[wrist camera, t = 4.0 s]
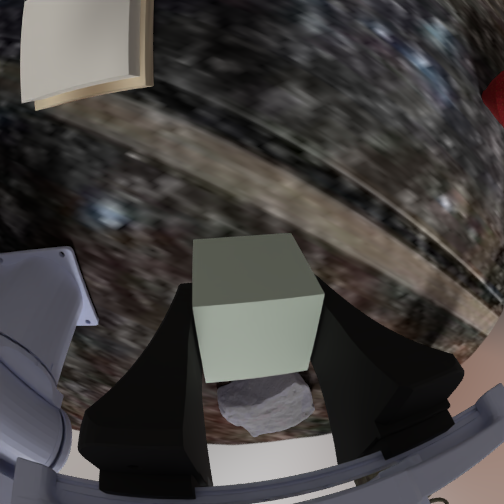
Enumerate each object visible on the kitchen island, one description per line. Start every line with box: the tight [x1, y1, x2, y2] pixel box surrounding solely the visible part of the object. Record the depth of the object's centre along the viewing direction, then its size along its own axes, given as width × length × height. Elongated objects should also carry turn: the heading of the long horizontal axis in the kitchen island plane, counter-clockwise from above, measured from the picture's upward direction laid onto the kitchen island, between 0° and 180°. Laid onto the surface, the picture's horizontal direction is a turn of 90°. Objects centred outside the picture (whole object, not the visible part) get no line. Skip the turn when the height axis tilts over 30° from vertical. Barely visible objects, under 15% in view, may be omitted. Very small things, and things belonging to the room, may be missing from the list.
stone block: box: [217, 372, 315, 437], centre depth 33 cm, size 12×5×10 cm
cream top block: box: [20, 0, 141, 103], centre depth 9 cm, size 6×6×2 cm
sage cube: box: [192, 233, 325, 383], centre depth 11 cm, size 4×4×4 cm
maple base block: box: [35, 0, 154, 111], centre depth 12 cm, size 7×7×3 cm
